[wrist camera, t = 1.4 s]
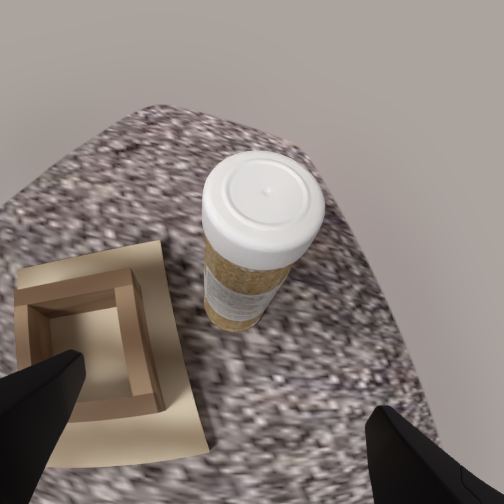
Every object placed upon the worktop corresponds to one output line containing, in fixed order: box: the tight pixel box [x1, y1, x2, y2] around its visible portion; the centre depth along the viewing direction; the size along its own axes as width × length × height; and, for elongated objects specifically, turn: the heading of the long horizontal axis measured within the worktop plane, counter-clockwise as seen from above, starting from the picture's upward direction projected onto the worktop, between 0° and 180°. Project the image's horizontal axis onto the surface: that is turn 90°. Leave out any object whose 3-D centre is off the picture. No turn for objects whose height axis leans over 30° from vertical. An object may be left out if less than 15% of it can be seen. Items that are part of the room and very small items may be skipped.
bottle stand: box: [14, 240, 210, 468], centre depth 17 cm, size 16×13×4 cm
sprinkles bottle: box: [202, 151, 325, 332], centre depth 17 cm, size 5×5×13 cm
